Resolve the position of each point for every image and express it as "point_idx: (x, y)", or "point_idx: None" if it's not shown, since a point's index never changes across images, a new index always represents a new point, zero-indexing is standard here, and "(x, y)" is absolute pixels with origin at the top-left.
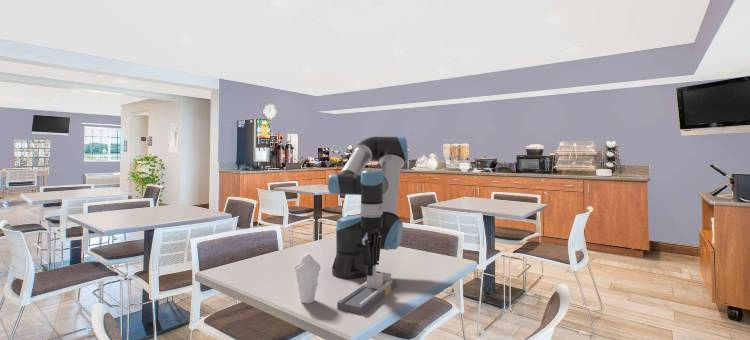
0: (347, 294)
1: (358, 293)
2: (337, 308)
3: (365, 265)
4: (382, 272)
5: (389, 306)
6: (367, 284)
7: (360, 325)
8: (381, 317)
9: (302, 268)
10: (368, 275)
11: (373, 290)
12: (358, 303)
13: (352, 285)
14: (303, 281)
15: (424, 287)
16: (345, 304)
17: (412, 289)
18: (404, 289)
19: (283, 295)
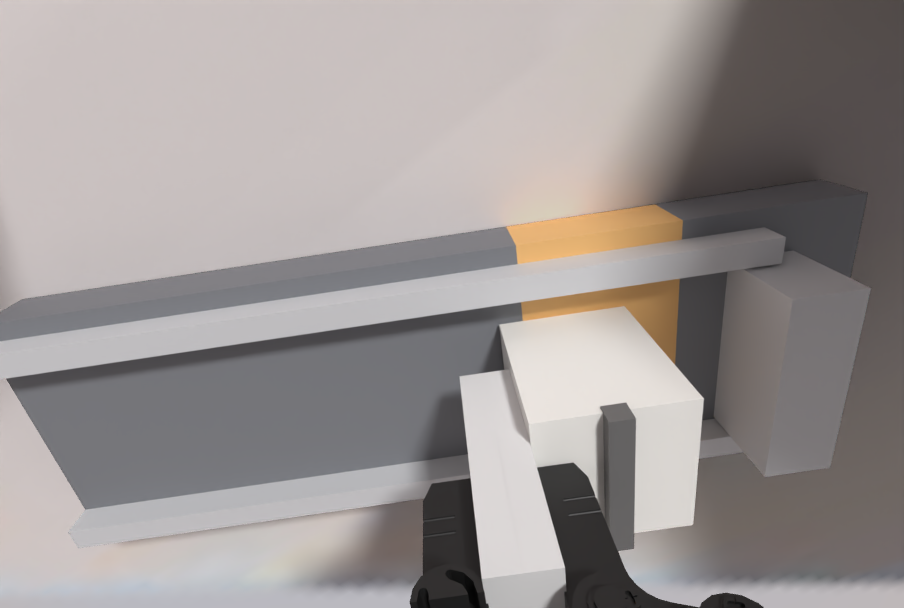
0: (126, 342)
1: (306, 346)
2: (19, 303)
3: (432, 587)
4: (680, 518)
5: (370, 545)
6: (503, 341)
7: (7, 562)
8: (196, 586)
9: None
10: (434, 496)
11: None
12: (133, 471)
13: (621, 2)
14: None
15: (824, 551)
16: (23, 404)
17: (752, 513)
18: (729, 475)
19: None
